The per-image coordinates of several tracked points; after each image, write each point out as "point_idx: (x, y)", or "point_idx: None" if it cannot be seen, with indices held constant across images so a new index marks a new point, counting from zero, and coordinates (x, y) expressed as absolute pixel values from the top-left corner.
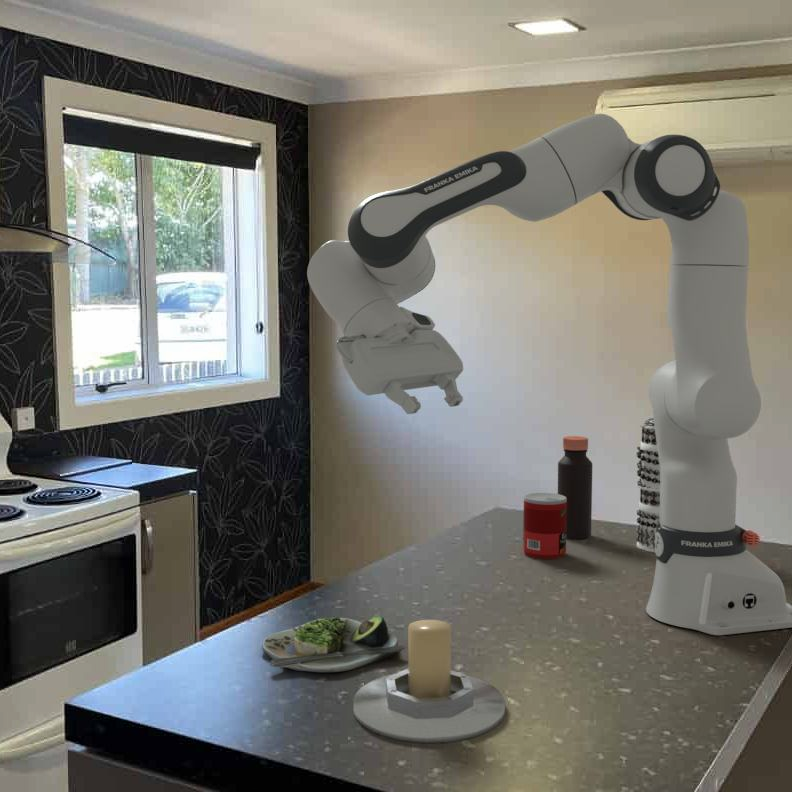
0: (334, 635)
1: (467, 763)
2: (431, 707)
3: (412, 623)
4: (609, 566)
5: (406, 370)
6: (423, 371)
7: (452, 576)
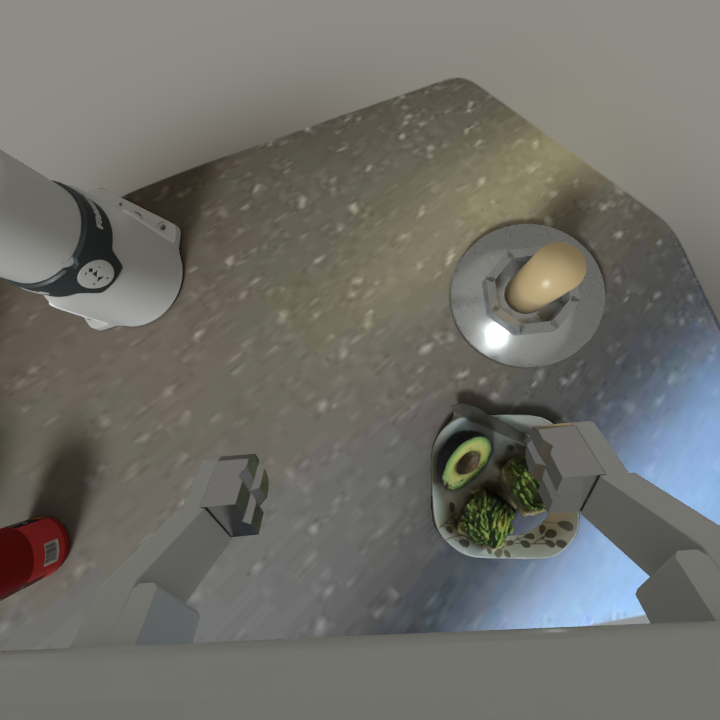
0: (515, 470)
1: (574, 199)
2: None
3: (566, 289)
4: (43, 446)
5: (644, 695)
6: (393, 661)
7: None
